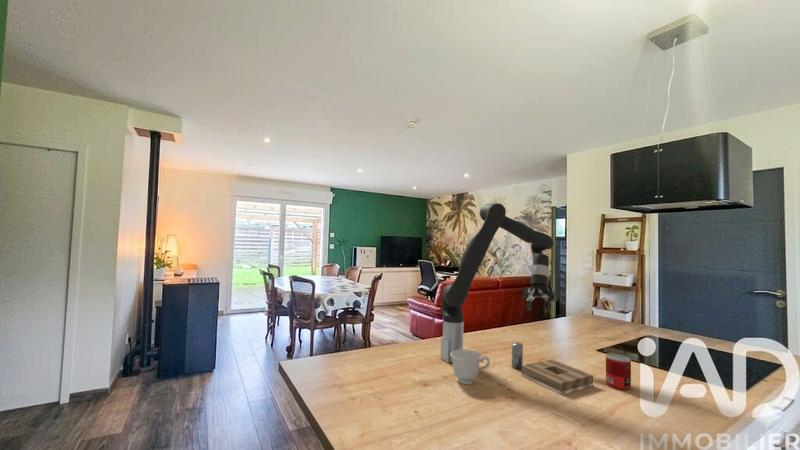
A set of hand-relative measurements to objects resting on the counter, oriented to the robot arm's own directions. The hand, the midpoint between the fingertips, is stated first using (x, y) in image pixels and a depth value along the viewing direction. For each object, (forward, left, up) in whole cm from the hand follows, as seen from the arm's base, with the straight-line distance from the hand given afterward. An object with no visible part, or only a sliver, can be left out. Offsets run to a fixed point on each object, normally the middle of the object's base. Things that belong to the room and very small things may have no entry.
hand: (537, 310), depth 152 cm
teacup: (-43, -5, -23) cm, 49 cm away
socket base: (-11, -18, -23) cm, 31 cm away
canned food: (+7, -31, -23) cm, 40 cm away
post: (-15, -2, -23) cm, 27 cm away
